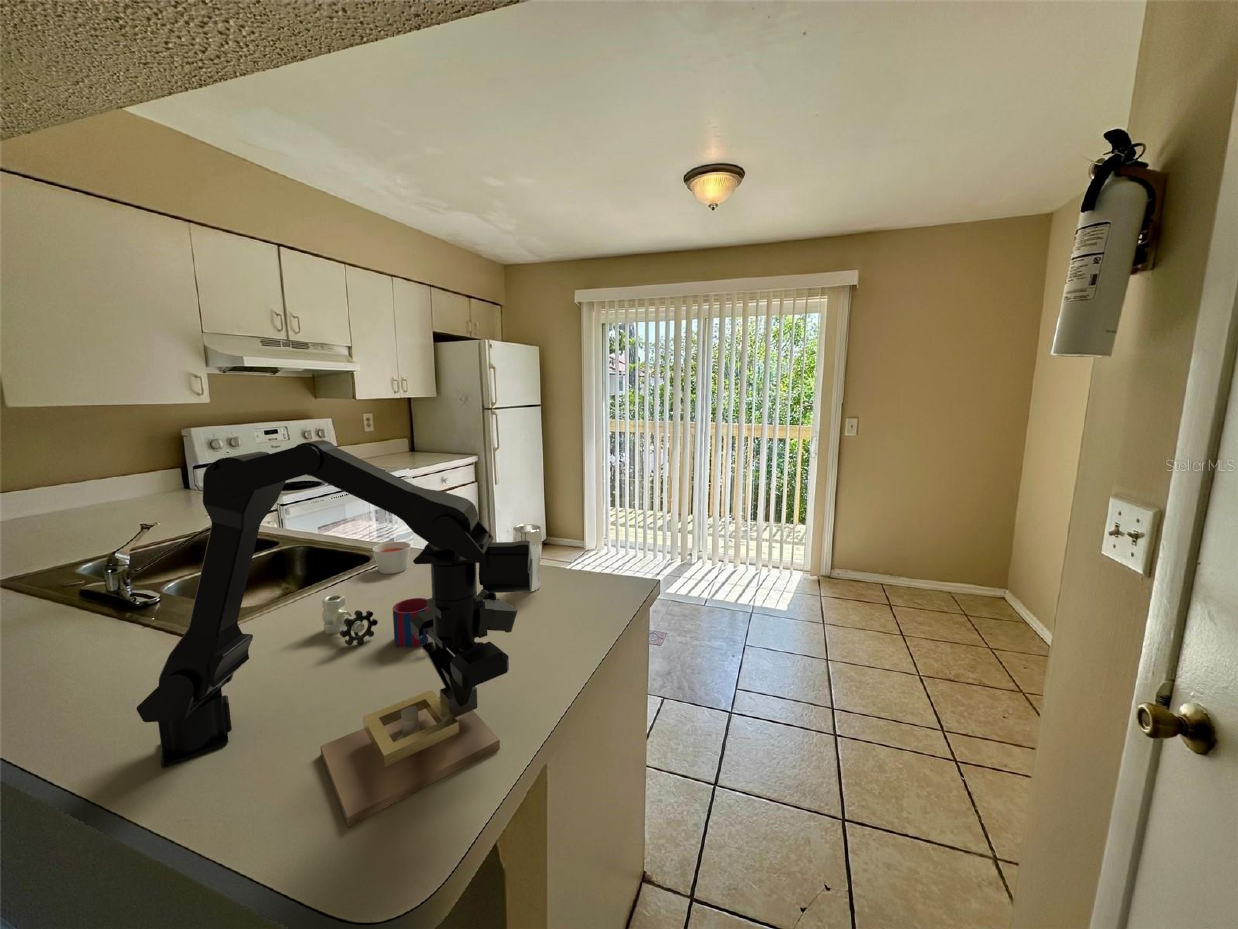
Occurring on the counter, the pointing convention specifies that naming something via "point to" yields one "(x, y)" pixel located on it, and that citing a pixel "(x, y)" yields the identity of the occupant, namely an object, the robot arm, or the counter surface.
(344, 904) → the counter surface
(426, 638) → the mug
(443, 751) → the plate
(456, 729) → the brass link
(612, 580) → the counter surface
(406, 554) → the candle
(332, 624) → the valve
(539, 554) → the beer glass
